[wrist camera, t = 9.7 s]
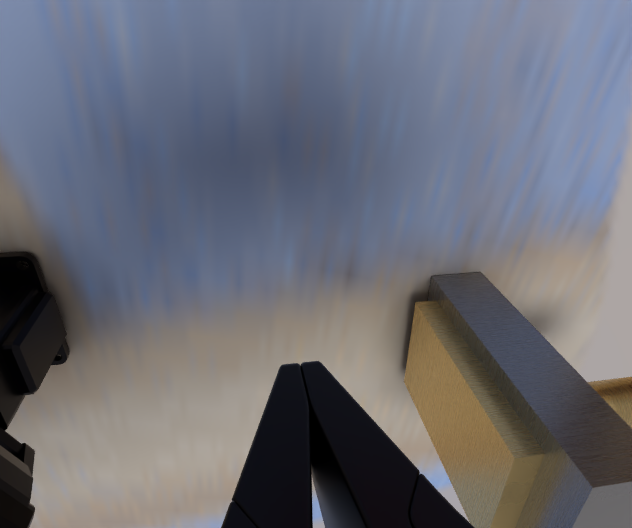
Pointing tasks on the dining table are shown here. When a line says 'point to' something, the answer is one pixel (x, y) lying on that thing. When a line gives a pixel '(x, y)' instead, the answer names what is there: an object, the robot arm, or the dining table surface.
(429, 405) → the brass pin
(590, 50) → the dining table surface
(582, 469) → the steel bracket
